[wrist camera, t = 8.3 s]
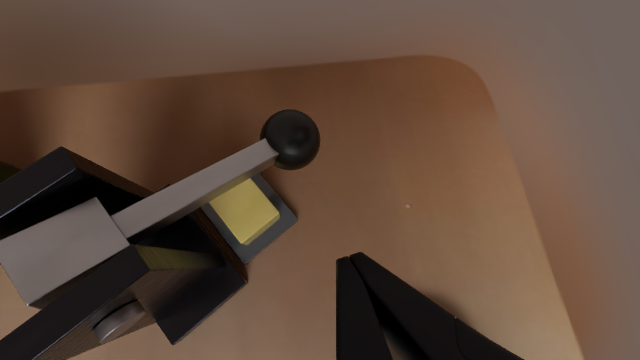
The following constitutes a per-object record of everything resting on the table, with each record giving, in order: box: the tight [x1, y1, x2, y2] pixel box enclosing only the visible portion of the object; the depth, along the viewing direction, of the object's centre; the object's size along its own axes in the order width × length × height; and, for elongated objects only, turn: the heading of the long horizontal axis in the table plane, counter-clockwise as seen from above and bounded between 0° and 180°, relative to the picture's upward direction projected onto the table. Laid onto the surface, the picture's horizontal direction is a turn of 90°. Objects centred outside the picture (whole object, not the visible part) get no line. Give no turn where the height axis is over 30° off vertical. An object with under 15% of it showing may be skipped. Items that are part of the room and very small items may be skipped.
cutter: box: [0, 147, 248, 360], centre depth 14 cm, size 5×8×11 cm, turn 41°
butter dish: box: [200, 173, 298, 264], centre depth 19 cm, size 4×6×2 cm
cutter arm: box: [0, 110, 320, 310], centre depth 13 cm, size 13×3×3 cm, turn 131°
